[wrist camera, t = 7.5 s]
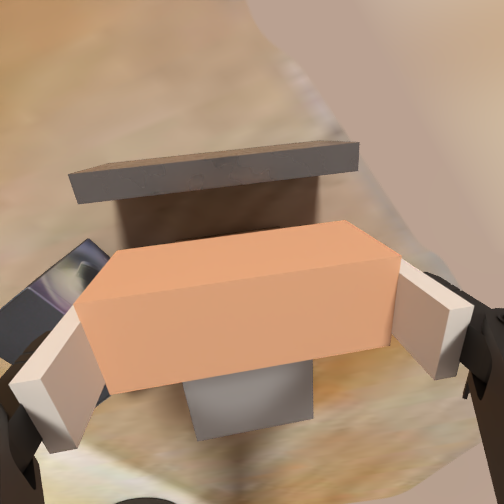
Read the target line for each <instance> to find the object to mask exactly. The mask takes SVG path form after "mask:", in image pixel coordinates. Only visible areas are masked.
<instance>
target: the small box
mask: <svg viewBox="0 0 504 504" xmlns="http://www.w3.org/2000/svg"><path fill="white" fill-rule="evenodd" d="M109 259H110V257H109V256H108V255H107V254H106V253H105V252H104V251H102V250H101V249H100V248H99V247H98V246H97V245H96V244H95V243H93V242H92V241H91V240H90V239H86V240H85V241H84V242H83V243H81V244H80V245H79V246H77V247H76V248H75V249H74V250H72V251H71V252H70V253H69V254H67V255H66V256H65V257H63V258H62V259H61V260H59V261H58V262H57V263H56V264H54V265H53V266H52V267H51V268H49V269H48V270H47V271H46V272H44V273H43V274H42V275H41V276H39V277H38V278H37V279H36V280H35V281H33V282H32V283H31V284H30V285H28V286H27V287H26V288H25V289H24V290H22V291H21V292H20V293H19V294H18V295H16V296H15V297H14V298H13V299H12V300H10V301H9V302H8V303H7V304H6V305H5V306H3V307H2V308H1V309H0V358H2V359H4V360H5V361H7V362H9V363H10V364H12V365H14V362H15V361H16V360H17V359H18V357H19V356H20V355H22V353H23V352H24V350H25V349H26V348H27V347H28V346H29V345H30V343H31V342H32V341H34V340H35V339H36V338H38V337H39V336H41V335H42V334H43V333H45V332H46V331H52V330H53V329H54V328H55V326H56V325H57V324H58V323H59V321H60V320H61V319H62V318H63V317H64V315H65V314H66V313H67V312H68V310H69V309H70V308H71V307H72V305H73V304H74V302H75V301H76V300H77V299H78V297H79V296H80V295H81V294H82V293H83V291H84V290H85V289H86V288H87V286H88V285H89V284H90V283H91V282H92V280H93V279H94V278H95V277H96V275H97V274H98V273H99V272H100V271H101V269H102V268H103V267H104V266H105V264H106V263H107V262H108V261H109ZM110 396H111V395H110V394H109V391H108V389H107V386H106V384H105V385H104V387H103V390H102V392H101V394H100V397H99V399H98V401H97V404H96V406H95V407H97V406H98V405H99V404H100V403H102V402H103V401H104V400H106V399H107V398H109V397H110Z"/></svg>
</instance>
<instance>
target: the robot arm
mask: <svg viewBox="0 0 504 504" xmlns="http://www.w3.org/2000/svg"><path fill="white" fill-rule="evenodd" d="M391 333H392V334H393V335H394V337H395V338H396V339H397V340H398V341H399V342H400V343H401V344H402V345H403V346H404V348H405V349H406V350H407V351H408V352H409V353H410V354H411V355H412V356H413V357H414V359H415V360H416V361H417V362H418V363H419V364H420V365H421V366H422V367H423V368H424V370H425V371H426V372H427V373H428V374H429V375H430V376H431V377H432V378H433V379H434V380H439V379H444V378H450V377H455V376H456V375H457V371H458V367H459V363H460V362H461V363H462V364H463V365H464V366H465V367H467V368H468V369H469V373H468V377H467V381H466V384H465V388H464V391H463V398H464V399H467V397H468V394H469V393H471V397H472V402H473V406H474V410H475V414H476V418H477V422H478V426H479V430H480V434H481V438H482V442H483V446H484V450H485V454H486V458H487V462H488V466H489V470H490V474H491V478H492V482H493V486H494V491H495V495H496V499H497V503H498V504H504V308H495V309H491V308H489V307H488V306H486V305H484V304H483V303H481V302H479V301H478V300H476V299H475V298H473V297H472V296H470V295H468V294H467V293H465V292H463V291H460V289H459V288H457V287H455V286H454V285H451V283H449V282H447V281H446V280H444V279H443V278H441V277H439V276H436V275H433V274H431V273H428V272H421V271H420V270H418V269H417V268H415V267H414V266H412V265H411V264H409V263H408V262H406V261H405V260H403V259H401V265H400V273H399V276H398V284H397V292H396V300H395V308H394V316H393V324H392V332H391ZM105 383H106V382H105V380H104V378H103V375H102V373H101V370H100V368H99V365H98V363H97V360H96V358H95V356H94V353H93V351H92V348H91V346H90V343H89V341H88V338H87V336H86V334H85V331H84V329H83V326H82V324H81V322H80V320H79V318H78V315H77V313H76V311H75V308H74V306H73V305H72V307H71V308H70V309H69V310H68V312H67V313H66V314H65V315H64V317H63V318H62V319H61V320H60V321H59V323H58V324H57V325H56V326H55V328H54V329H53V330H52V331H46V332H45V333H43V334H42V335H41V336H39V337H38V338H36V339H35V340H34V341H32V342H31V343H30V345H29V346H28V347H27V348H26V349H25V350H24V352H23V353H22V355H20V356H19V357H18V359H17V360H16V361H15V362H14V365H11V367H10V368H9V369H8V370H7V371H6V372H5V374H4V375H3V376H2V377H1V378H0V504H45V503H44V496H43V489H42V482H41V475H40V468H39V463H38V461H37V460H36V458H35V456H34V454H35V452H36V450H37V449H38V447H39V445H40V443H41V441H42V442H43V443H44V445H45V447H46V448H47V450H48V452H49V453H50V454H52V453H57V452H62V451H67V450H72V449H77V448H78V446H79V444H80V441H81V439H82V437H83V434H84V432H85V429H86V427H87V425H88V422H89V420H90V418H91V415H92V413H93V411H94V408H95V406H96V404H97V401H98V399H99V397H100V394H101V392H102V390H103V387H104V385H105ZM117 504H173V503H171V502H168V501H165V500H160V499H152V498H141V499H132V500H127V501H123V502H120V503H117Z"/></svg>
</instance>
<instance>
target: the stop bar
mask: <svg viewBox="0 0 504 504" xmlns="http://www.w3.org/2000/svg"><path fill="white" fill-rule="evenodd" d="M358 160H359V142H343V141H311V142H302V143H292V144H283V145H274V146H265V147H255V148H246V149H237V150H228V151H218V152H209V153H200V154H190V155H181V156H172V157H163V158H153V159H144V160H135V161H126V162H116V163H108V164H104V165H100V166H97V167H93V168H89V169H86V170H82V171H78V172H74V173H71V174H68V176H69V179H70V182H71V185H72V188H73V191H74V194H75V197H76V200H77V203H78V204H85V203H93V202H102V201H110V200H118V199H127V198H135V197H144V196H152V195H160V194H169V193H177V192H185V191H194V190H202V189H211V188H219V187H227V186H236V185H244V184H252V183H261V182H269V181H278V180H286V179H294V178H303V177H311V176H320V175H328V174H336V173H345V172H353V171H358Z"/></svg>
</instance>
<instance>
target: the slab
mask: <svg viewBox="0 0 504 504" xmlns="http://www.w3.org/2000/svg"><path fill="white" fill-rule="evenodd" d="M182 384H183V388H184V392H185V395H186V399H187V403H188V407H189V411H190V415H191V418H192V422H193V426H194V430H195V434H196V438H197V441H203V440H208V439H213V438H218V437H223V436H228V435H233V434H238V433H243V432H248V431H253V430H258V429H263V428H268V427H274V426H279V425H284V424H289V423H294V422H299V421H304V420H309V419H313V359H311V360H306V361H300V362H294V363H289V364H283V365H277V366H272V367H266V368H260V369H255V370H249V371H243V372H238V373H232V374H226V375H221V376H215V377H209V378H204V379H198V380H192V381H187V382H182Z"/></svg>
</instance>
